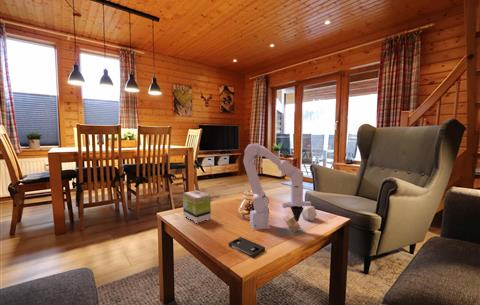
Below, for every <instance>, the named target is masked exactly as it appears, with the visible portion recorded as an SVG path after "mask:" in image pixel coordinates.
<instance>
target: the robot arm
mask: <svg viewBox="0 0 480 305" xmlns="http://www.w3.org/2000/svg"><path fill="white" fill-rule="evenodd" d="M258 157H264V158H266V159H268V160H269V161H270V162H272V163H274V164H275V165H276V166H277V169H278V170H279V171H280V172H282V173H283V174H284V175H286V176H287V177H289V179H290V180H291V184H290V201H287V202H282V206H281V207H282V209H287V208H290V210H291V212H292V216H293V217H294V218H295V219H296V221H297V222H299V220H300V217H301V216H302V214H301V213H302V211H303V208H304V206H312V202H311V201H309V200H308V201H307V200H306V201H304V183H303V182H304V181H303V180H304V179H303V178H304V172H303V171H302V170H301V169H300V168H298V167H297V166H294V165H292V164H291V163H290V160H286V159H283V160H282V159H280V157H278V156H277V155H275V154H274V153H273V152H271V151H270V150H269V149H268V148H267V147H266V146H263V145H261V143H258V142H256V143H255V142H254V143H249V144H248V145H246V148H245V149H244V155H243V161H242V162H243V165H244V169H245V171H246V175H247V178H248V181H249V185H250V188H251V191H252V194H253V195H252V196H253V197H252V200H253V209H254V210H250V212H249V225H250V228H252V230H253V231H256V230H265V229H267V230H268V229H272V227H271V226H270V225H269V207H268V206H269V204H270V199H269V198H268V196H267V195H266V193H265V191H264V190H263V187H262V184H261V181H260V178H259V175H258V171H257V168H256V166H255V161H256V159H257V158H258Z"/></svg>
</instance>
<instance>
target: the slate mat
mask: <svg viewBox="0 0 480 305" xmlns="http://www.w3.org/2000/svg"><path fill="white" fill-rule="evenodd" d="M273 230H274V231H275V233H277V235H279V237H281V238H282V237H290V236H298V235H307V234H308V232H306V231H305V230H304V229H303V228H302V227H301V226H300V228H299V229H298V230H297V231H295V232H293V231H292V230H291V229H290V228H289V226H288V227H286V226H285V227H280V228H279V227H277V228H273Z"/></svg>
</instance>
